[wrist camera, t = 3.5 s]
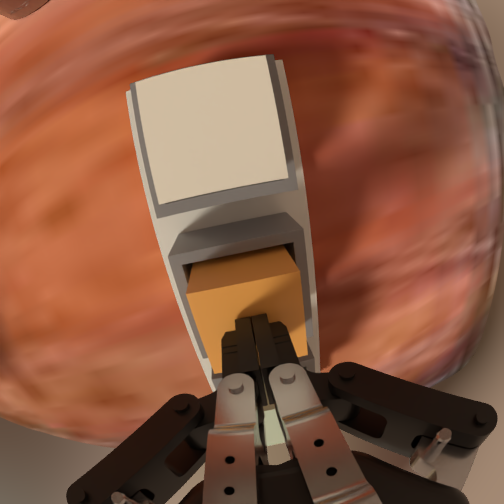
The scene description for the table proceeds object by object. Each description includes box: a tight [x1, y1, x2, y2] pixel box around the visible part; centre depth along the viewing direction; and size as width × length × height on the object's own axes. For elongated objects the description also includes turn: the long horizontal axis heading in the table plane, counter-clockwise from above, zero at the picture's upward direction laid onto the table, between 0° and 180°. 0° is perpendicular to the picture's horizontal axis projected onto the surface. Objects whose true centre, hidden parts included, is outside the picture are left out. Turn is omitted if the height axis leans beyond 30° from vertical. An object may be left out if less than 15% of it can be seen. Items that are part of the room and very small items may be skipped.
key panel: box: [126, 54, 320, 392], centre depth 17 cm, size 27×10×6 cm, turn 10°
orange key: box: [186, 244, 308, 374], centre depth 15 cm, size 5×5×5 cm
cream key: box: [135, 55, 288, 205], centre depth 11 cm, size 5×5×5 cm
